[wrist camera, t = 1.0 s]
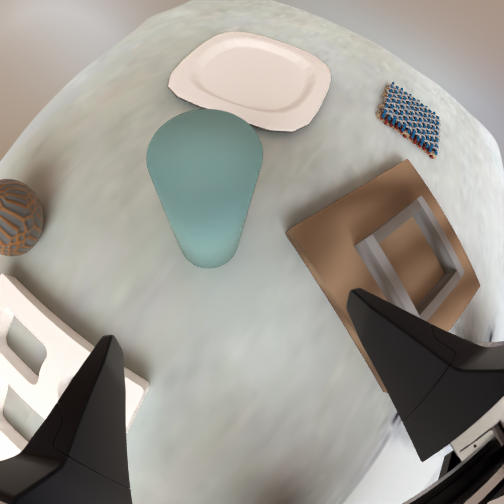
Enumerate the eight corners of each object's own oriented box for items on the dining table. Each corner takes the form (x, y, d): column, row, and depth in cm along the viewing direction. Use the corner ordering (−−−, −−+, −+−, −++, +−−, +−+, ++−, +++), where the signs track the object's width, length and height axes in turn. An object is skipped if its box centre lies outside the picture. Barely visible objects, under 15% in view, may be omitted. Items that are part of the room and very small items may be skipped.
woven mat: (435, 122, 34) (442, 116, 32) (432, 164, 31) (441, 157, 29) (384, 85, 34) (389, 77, 32) (372, 120, 31) (379, 111, 29)
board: (472, 287, 26) (491, 282, 23) (383, 391, 22) (404, 398, 19) (401, 164, 29) (416, 150, 25) (285, 234, 25) (296, 220, 21)
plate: (335, 73, 32) (339, 65, 31) (297, 155, 27) (302, 146, 26) (224, 33, 32) (224, 24, 31) (151, 99, 27) (149, 89, 26)
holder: (66, 570, 8) (62, 578, 5) (-21, 501, 8) (-29, 506, 5) (152, 382, 20) (145, 389, 18) (16, 276, 21) (1, 271, 18)
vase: (48, 188, 23) (6, 144, 14) (58, 245, 22) (4, 211, 13) (5, 217, 21) (-41, 184, 13) (12, 273, 20) (-44, 252, 12)
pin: (249, 249, 24) (286, 169, 11) (198, 279, 23) (177, 225, 10) (219, 202, 25) (226, 96, 12) (169, 229, 23) (130, 137, 11)
